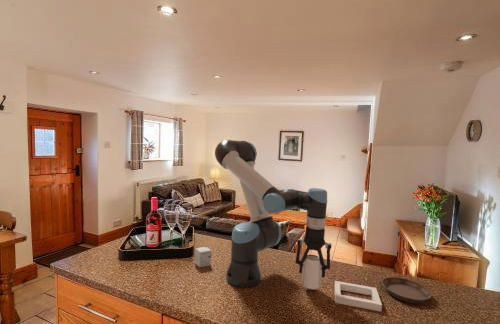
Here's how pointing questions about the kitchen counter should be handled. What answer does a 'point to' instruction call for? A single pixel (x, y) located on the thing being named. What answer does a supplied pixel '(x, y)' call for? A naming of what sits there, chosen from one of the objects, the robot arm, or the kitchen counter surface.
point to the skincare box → (202, 256)
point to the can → (312, 272)
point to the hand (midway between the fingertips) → (311, 282)
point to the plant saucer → (406, 290)
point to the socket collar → (355, 301)
